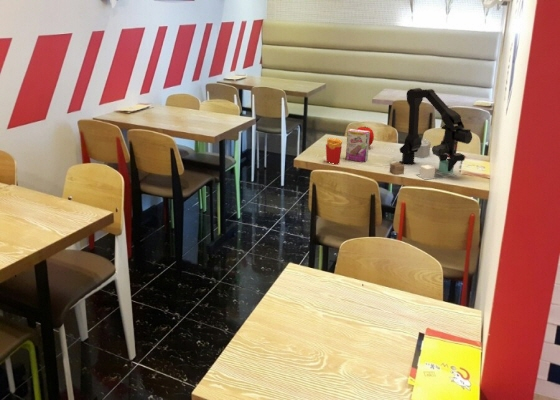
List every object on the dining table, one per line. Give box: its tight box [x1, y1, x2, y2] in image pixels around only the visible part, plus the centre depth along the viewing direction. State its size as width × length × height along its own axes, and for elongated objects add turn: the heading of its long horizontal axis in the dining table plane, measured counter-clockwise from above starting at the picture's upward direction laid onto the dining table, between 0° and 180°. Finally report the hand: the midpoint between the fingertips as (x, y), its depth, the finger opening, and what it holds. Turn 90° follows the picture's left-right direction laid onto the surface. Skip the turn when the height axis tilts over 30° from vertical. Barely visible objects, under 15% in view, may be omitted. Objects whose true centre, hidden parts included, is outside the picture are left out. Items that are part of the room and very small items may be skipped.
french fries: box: [325, 137, 343, 165], centre depth 283 cm, size 9×4×13 cm, turn 51°
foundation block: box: [419, 164, 436, 179], centre depth 263 cm, size 5×5×5 cm
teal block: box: [437, 160, 455, 174], centre depth 267 cm, size 5×5×5 cm
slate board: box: [415, 171, 457, 181], centre depth 266 cm, size 9×19×1 cm, turn 111°
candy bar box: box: [345, 128, 370, 163], centre depth 287 cm, size 11×5×16 cm, turn 65°
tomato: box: [356, 126, 375, 147], centre depth 310 cm, size 11×11×13 cm
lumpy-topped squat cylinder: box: [414, 138, 432, 159], centre depth 300 cm, size 10×13×9 cm
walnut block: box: [389, 162, 405, 176], centre depth 269 cm, size 5×5×5 cm
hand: (445, 169), depth 267 cm, fingers closed on teal block, 5 cm apart
